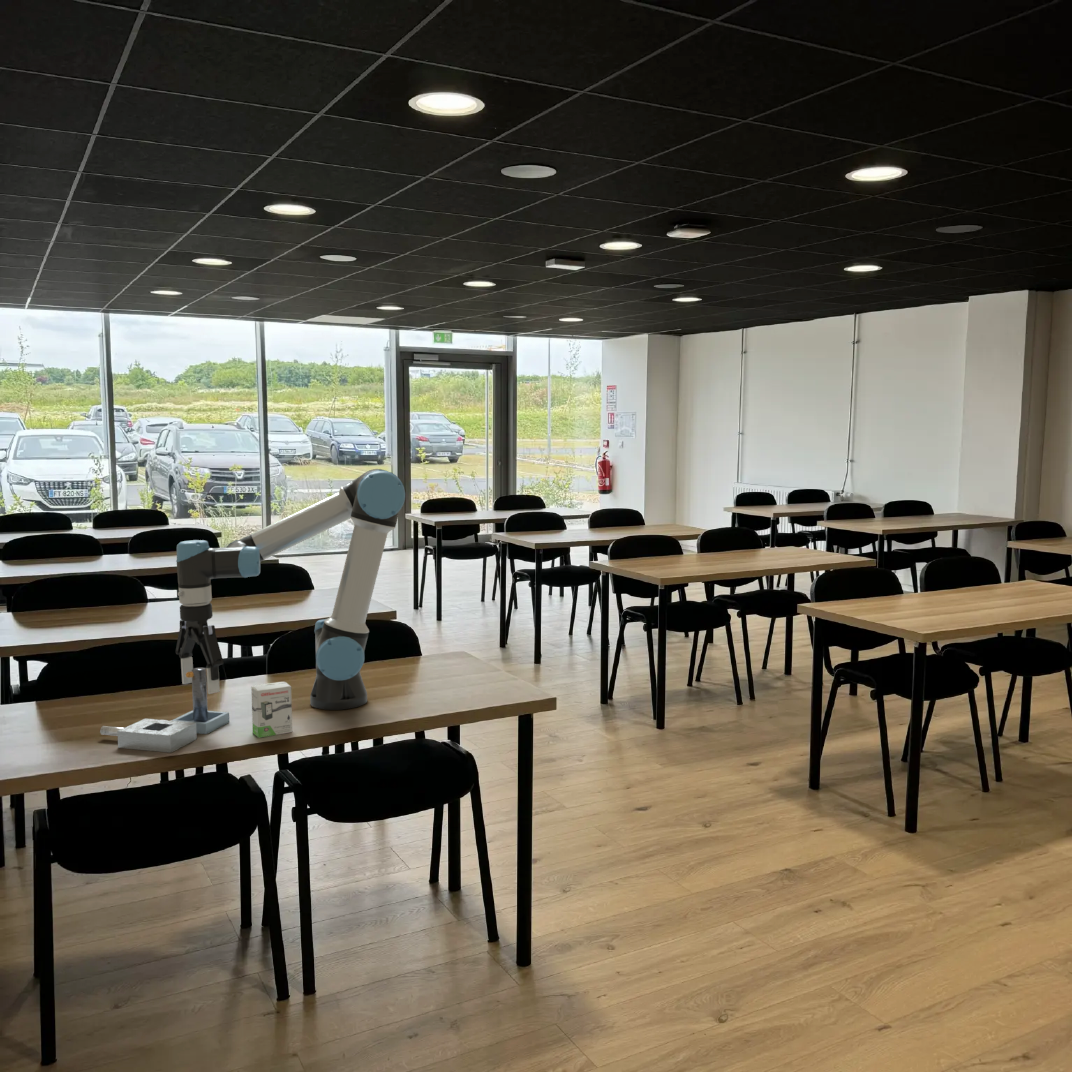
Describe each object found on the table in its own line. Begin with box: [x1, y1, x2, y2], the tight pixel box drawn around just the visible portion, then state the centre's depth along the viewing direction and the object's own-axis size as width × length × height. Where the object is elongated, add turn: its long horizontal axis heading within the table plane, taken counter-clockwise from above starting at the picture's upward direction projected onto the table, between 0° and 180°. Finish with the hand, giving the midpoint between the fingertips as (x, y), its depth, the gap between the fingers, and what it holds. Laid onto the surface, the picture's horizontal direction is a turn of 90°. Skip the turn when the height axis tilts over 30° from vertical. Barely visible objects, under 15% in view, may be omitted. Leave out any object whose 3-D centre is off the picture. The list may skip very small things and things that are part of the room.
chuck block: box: [99, 718, 198, 754], centre depth 225 cm, size 22×10×4 cm, turn 76°
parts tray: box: [170, 709, 230, 735], centre depth 237 cm, size 10×10×2 cm
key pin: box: [186, 667, 209, 723], centre depth 237 cm, size 6×3×14 cm, turn 128°
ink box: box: [250, 681, 293, 739], centre depth 232 cm, size 9×5×12 cm, turn 123°
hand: (200, 687), depth 237 cm, fingers open, 13 cm apart
